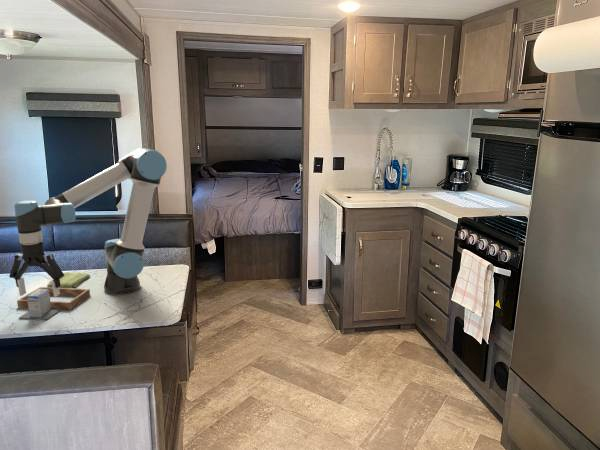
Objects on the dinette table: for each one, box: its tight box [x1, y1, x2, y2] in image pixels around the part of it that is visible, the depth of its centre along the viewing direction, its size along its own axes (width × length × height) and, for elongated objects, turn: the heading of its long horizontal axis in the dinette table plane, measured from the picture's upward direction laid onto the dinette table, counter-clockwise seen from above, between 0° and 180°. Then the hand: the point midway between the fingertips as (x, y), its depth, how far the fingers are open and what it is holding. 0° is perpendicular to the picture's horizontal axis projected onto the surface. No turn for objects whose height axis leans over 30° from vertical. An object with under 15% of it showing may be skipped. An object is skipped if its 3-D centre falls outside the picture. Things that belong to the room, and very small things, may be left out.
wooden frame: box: [16, 286, 91, 311], centre depth 186 cm, size 22×15×3 cm
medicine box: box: [27, 288, 51, 317], centre depth 173 cm, size 8×4×9 cm, turn 3°
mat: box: [18, 309, 62, 321], centre depth 174 cm, size 11×9×1 cm
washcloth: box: [46, 271, 91, 289], centre depth 208 cm, size 13×18×3 cm
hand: (39, 295), depth 172 cm, fingers open, 13 cm apart
